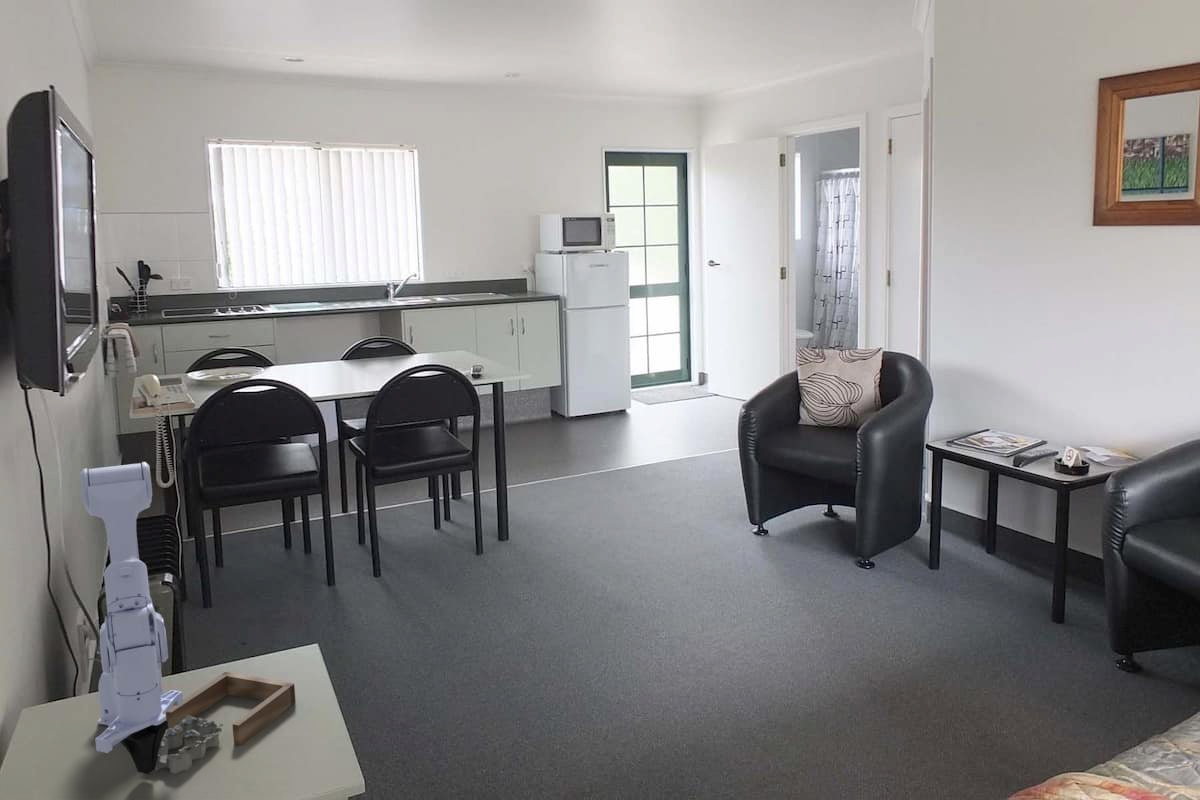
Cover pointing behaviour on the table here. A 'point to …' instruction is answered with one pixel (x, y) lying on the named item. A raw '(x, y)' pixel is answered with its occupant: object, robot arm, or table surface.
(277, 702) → the walnut u-shaped frame
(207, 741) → the egg carton
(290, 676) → the table surface
